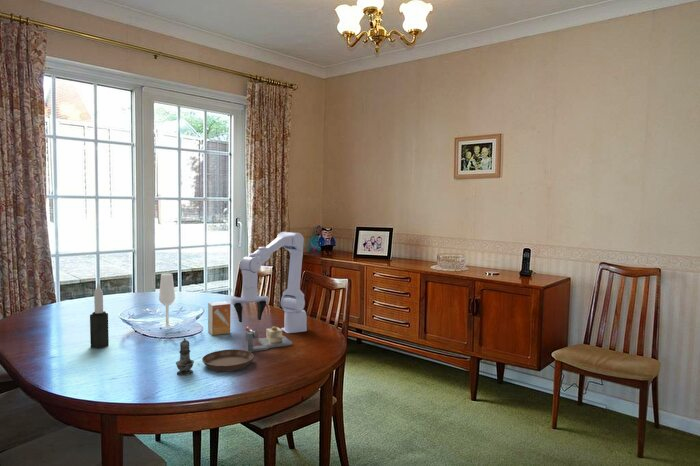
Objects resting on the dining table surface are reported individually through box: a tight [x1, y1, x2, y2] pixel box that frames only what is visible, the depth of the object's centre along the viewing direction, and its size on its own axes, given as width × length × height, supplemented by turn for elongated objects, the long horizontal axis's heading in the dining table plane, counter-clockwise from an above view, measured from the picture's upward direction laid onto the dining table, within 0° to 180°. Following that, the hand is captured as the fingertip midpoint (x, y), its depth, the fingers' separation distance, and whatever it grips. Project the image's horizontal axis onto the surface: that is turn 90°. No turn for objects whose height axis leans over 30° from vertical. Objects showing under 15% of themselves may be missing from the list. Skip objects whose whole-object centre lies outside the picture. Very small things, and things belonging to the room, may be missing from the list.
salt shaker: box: [175, 337, 195, 377], centre depth 161 cm, size 6×6×12 cm
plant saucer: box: [201, 348, 254, 372], centre depth 171 cm, size 18×18×3 cm
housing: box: [265, 326, 283, 343], centre depth 195 cm, size 5×5×6 cm
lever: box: [245, 326, 259, 340], centre depth 190 cm, size 2×11×3 cm, turn 28°
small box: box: [207, 300, 232, 336], centre depth 208 cm, size 8×6×13 cm
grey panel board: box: [245, 331, 293, 353], centre depth 193 cm, size 19×12×7 cm, turn 118°
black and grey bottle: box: [89, 282, 110, 350], centre depth 186 cm, size 5×5×25 cm
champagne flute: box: [158, 272, 176, 327], centre depth 214 cm, size 7×7×24 cm
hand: (249, 320), depth 192 cm, fingers open, 7 cm apart
